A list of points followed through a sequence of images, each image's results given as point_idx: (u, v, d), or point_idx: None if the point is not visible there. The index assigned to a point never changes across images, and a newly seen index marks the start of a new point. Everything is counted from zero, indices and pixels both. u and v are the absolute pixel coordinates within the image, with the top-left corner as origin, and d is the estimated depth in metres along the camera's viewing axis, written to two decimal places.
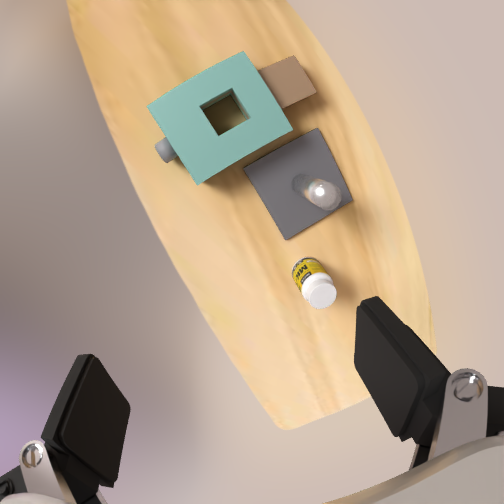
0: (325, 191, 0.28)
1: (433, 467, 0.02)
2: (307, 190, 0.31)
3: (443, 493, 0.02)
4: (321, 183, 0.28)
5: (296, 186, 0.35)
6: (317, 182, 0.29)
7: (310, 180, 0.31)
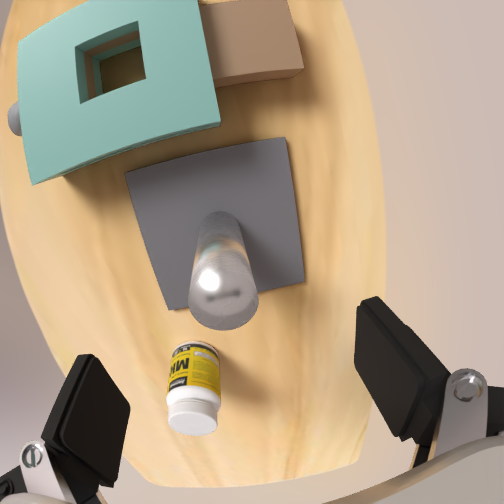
0: (217, 289, 0.11)
1: (433, 467, 0.02)
2: (195, 261, 0.14)
3: (443, 493, 0.02)
4: (216, 264, 0.12)
5: (199, 234, 0.18)
6: (215, 255, 0.13)
7: (213, 239, 0.15)
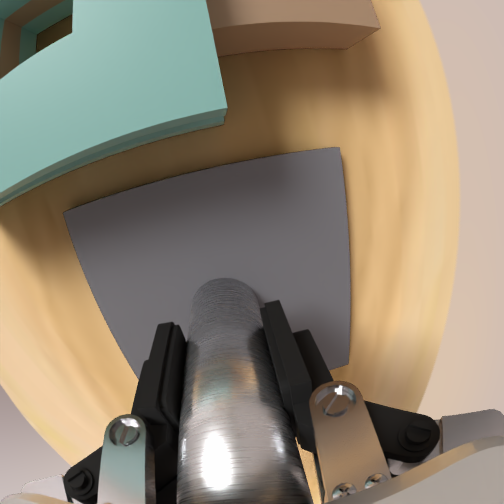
0: None
1: (433, 467, 0.02)
2: (180, 441, 0.05)
3: (443, 493, 0.02)
4: None
5: (188, 329, 0.10)
6: (225, 465, 0.04)
7: (216, 388, 0.06)
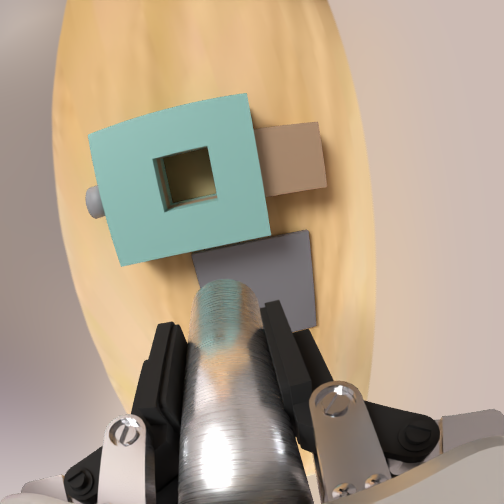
0: None
1: (433, 467, 0.02)
2: (182, 442, 0.05)
3: (443, 493, 0.02)
4: None
5: (189, 330, 0.10)
6: (227, 467, 0.04)
7: (218, 390, 0.06)
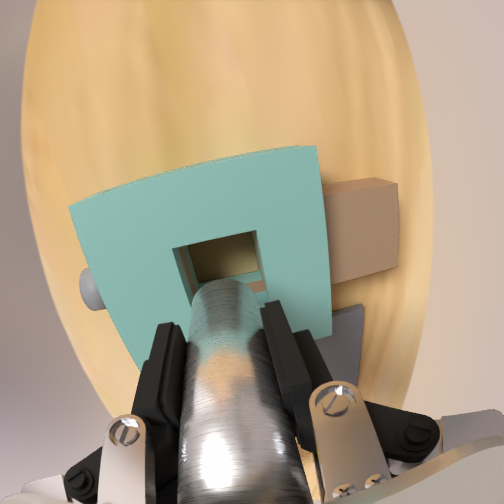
0: None
1: (433, 467, 0.02)
2: (181, 442, 0.05)
3: (443, 493, 0.02)
4: None
5: None
6: (226, 467, 0.04)
7: (217, 389, 0.06)
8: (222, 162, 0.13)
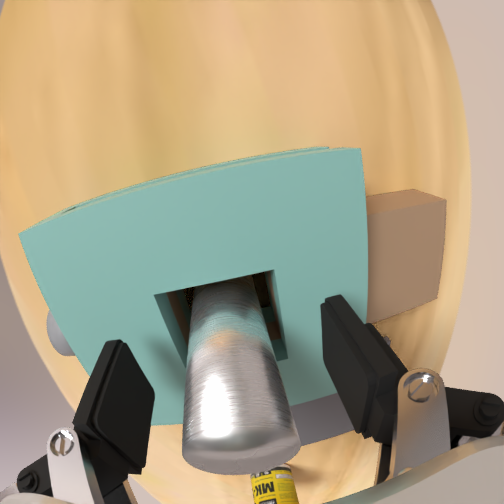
0: (231, 444, 0.05)
1: (433, 467, 0.02)
2: (188, 367, 0.08)
3: (443, 493, 0.02)
4: (228, 406, 0.06)
5: (194, 293, 0.12)
6: (223, 374, 0.07)
7: (217, 325, 0.09)
8: (224, 170, 0.08)
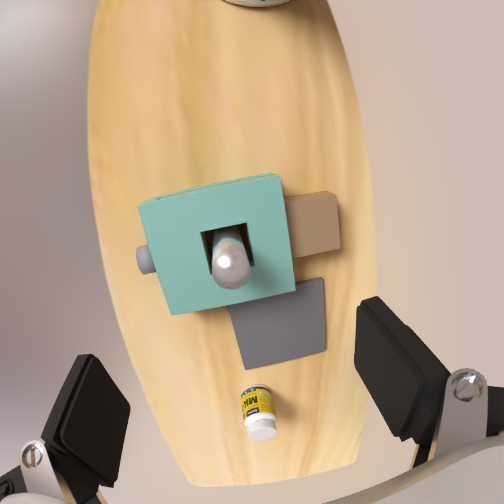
0: (228, 264, 0.21)
1: (433, 467, 0.02)
2: (214, 252, 0.24)
3: (443, 493, 0.02)
4: (228, 251, 0.21)
5: (213, 237, 0.28)
6: (226, 247, 0.22)
7: (224, 239, 0.25)
8: (229, 185, 0.24)
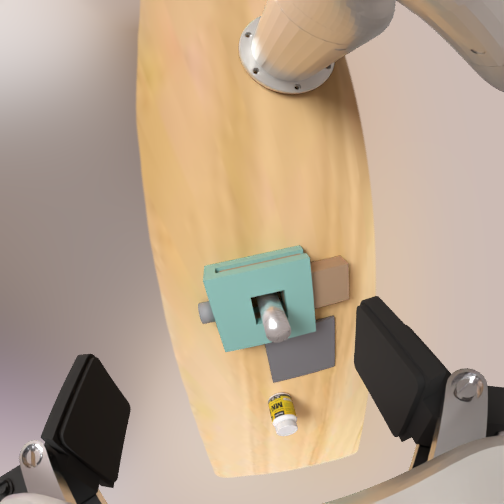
0: (277, 328, 0.31)
1: (433, 467, 0.02)
2: (263, 315, 0.33)
3: (443, 493, 0.02)
4: (276, 319, 0.31)
5: (257, 296, 0.38)
6: (274, 314, 0.32)
7: (270, 304, 0.34)
8: (272, 266, 0.34)
